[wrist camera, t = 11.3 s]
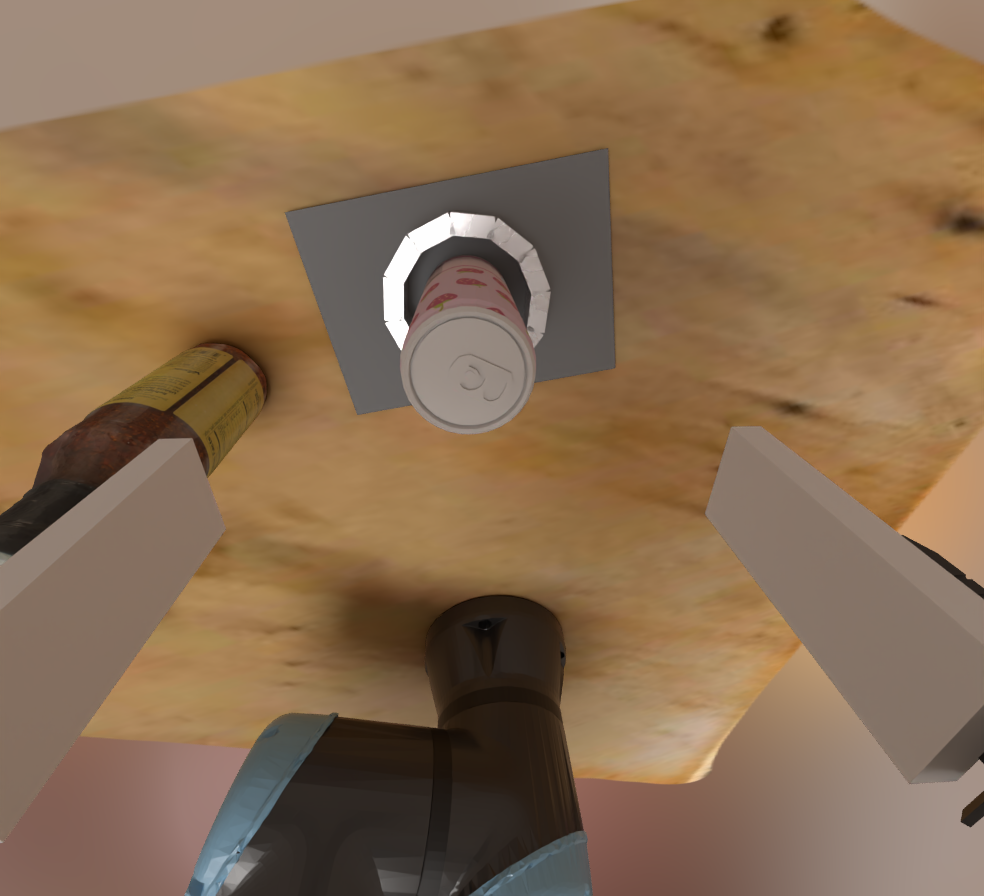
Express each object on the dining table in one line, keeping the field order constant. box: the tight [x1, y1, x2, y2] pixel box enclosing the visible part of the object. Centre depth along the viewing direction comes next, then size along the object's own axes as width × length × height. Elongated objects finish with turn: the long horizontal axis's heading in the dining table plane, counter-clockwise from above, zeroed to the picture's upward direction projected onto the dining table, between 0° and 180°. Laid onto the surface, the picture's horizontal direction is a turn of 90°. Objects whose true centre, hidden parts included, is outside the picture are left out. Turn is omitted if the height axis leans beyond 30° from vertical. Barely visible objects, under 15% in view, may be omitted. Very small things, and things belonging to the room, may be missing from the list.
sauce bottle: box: [0, 343, 267, 566], centre depth 24 cm, size 7×6×20 cm
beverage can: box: [400, 255, 536, 434], centre depth 24 cm, size 6×6×15 cm
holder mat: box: [285, 148, 615, 415], centre depth 31 cm, size 20×14×1 cm
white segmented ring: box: [384, 211, 551, 350], centre depth 29 cm, size 10×10×2 cm
